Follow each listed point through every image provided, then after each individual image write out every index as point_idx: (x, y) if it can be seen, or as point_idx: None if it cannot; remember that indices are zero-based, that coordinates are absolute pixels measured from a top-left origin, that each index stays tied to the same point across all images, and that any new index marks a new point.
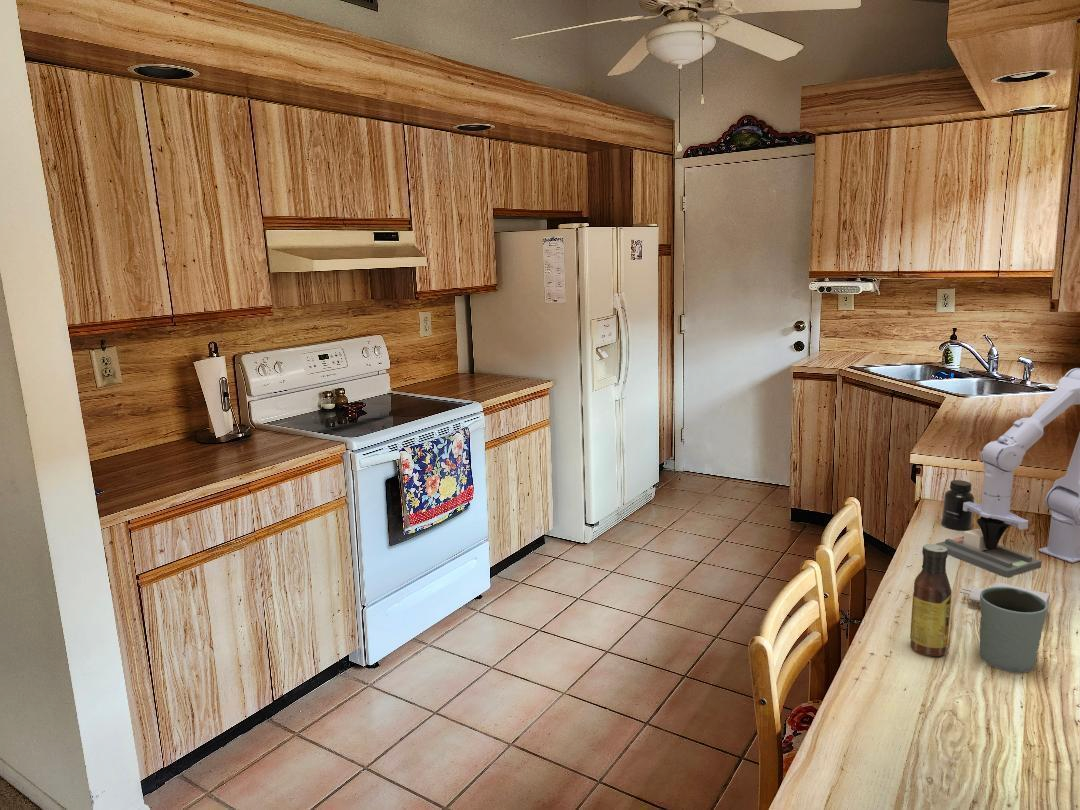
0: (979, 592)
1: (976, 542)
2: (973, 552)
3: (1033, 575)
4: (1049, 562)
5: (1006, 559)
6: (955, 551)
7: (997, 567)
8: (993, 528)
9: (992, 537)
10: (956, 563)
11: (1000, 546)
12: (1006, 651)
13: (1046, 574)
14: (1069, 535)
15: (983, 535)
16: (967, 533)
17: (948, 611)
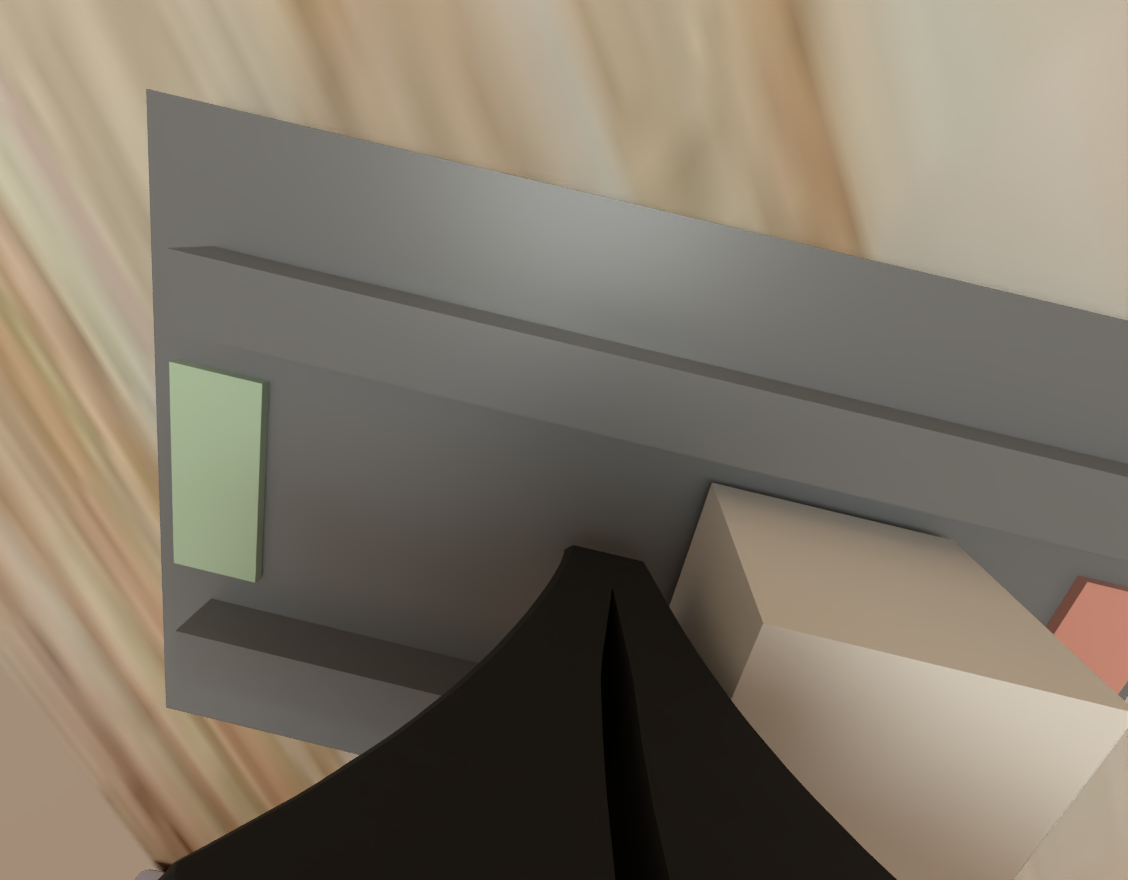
0: None
1: (791, 560)
2: (749, 379)
3: (125, 428)
4: (242, 792)
5: (383, 511)
6: (995, 291)
7: (301, 136)
8: (317, 858)
9: (494, 654)
10: (861, 61)
11: None
12: None
13: (90, 540)
14: None
15: (717, 691)
16: (1051, 683)
17: None
